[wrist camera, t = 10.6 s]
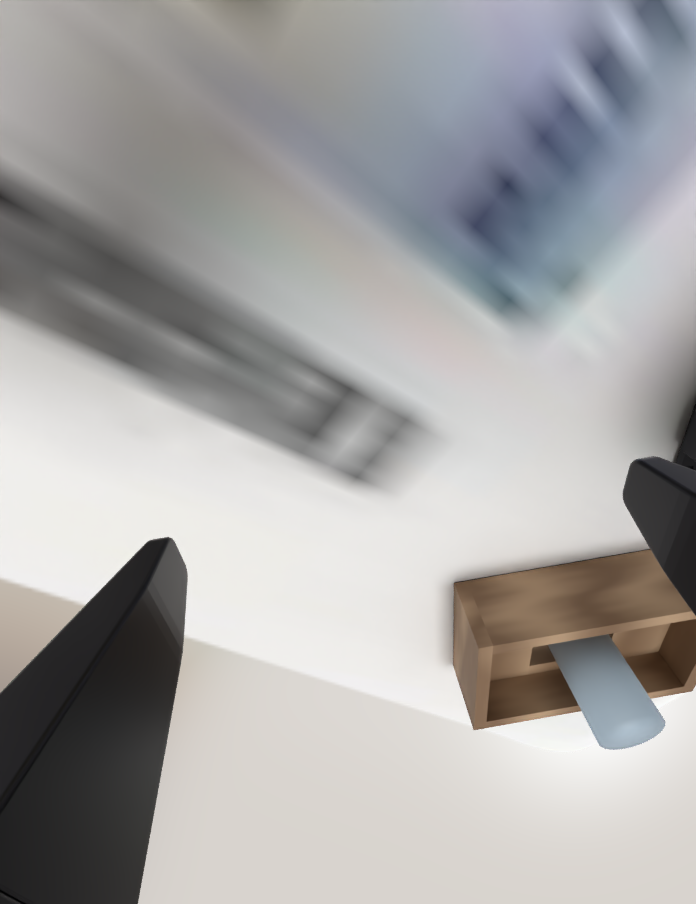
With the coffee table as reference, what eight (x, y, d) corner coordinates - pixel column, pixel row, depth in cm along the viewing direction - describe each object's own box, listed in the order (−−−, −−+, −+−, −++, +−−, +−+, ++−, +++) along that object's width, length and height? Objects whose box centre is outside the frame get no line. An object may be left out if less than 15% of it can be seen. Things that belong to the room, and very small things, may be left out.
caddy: (682, 543, 29) (740, 602, 26) (648, 631, 34) (692, 691, 31) (453, 582, 29) (478, 648, 25) (453, 665, 34) (473, 730, 30)
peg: (590, 587, 31) (673, 710, 24) (581, 620, 33) (655, 742, 26) (536, 596, 31) (604, 722, 24) (530, 629, 33) (592, 754, 26)
